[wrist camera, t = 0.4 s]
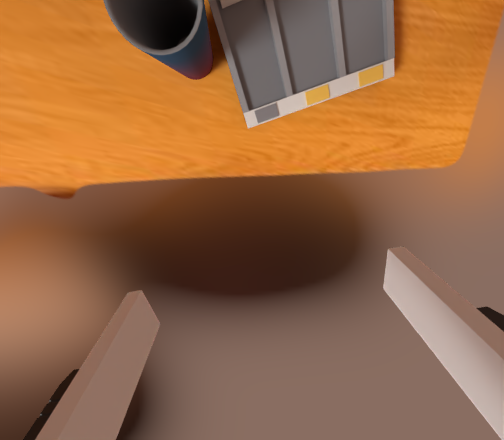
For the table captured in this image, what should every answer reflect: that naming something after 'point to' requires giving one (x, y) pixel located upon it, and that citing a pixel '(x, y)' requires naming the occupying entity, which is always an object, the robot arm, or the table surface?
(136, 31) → the cup
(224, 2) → the tab
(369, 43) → the switch bank
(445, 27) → the table surface
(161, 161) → the table surface
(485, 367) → the robot arm
